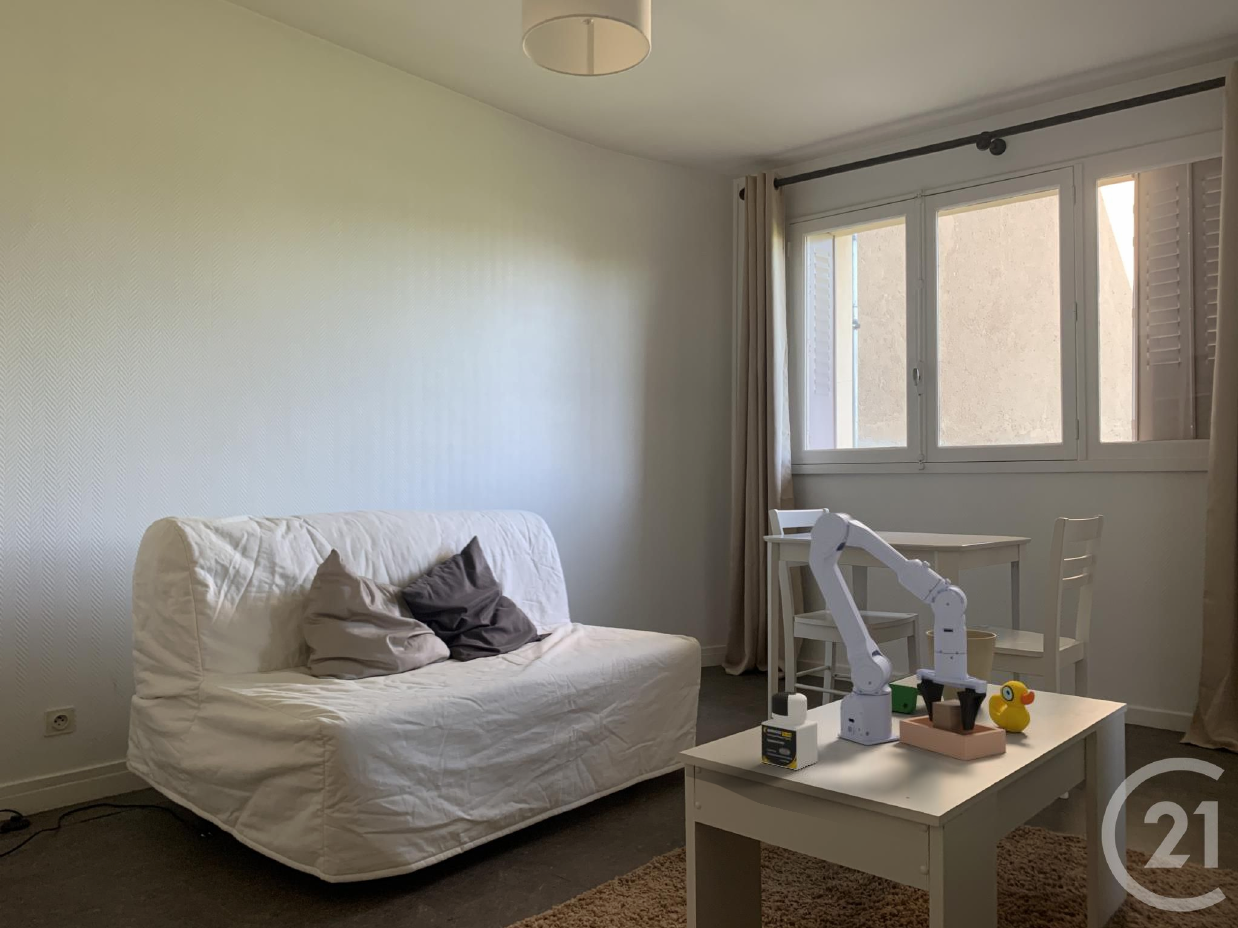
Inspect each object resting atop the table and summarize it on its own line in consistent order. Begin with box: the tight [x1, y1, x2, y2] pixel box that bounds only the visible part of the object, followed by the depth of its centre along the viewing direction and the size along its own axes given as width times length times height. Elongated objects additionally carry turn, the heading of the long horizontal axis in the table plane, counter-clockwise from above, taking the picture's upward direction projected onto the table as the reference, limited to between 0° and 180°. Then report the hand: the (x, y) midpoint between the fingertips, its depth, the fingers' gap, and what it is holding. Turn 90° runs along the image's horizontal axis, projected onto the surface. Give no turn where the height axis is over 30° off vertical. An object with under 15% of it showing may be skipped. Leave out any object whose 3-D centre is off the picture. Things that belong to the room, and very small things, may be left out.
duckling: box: [988, 680, 1036, 733], centre depth 182 cm, size 11×5×10 cm, turn 19°
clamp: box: [887, 682, 922, 714], centre depth 202 cm, size 12×6×9 cm, turn 38°
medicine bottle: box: [761, 691, 819, 771], centre depth 160 cm, size 7×7×12 cm
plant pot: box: [925, 629, 997, 701], centre depth 206 cm, size 15×15×16 cm
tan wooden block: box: [933, 699, 973, 736], centre depth 170 cm, size 6×4×7 cm, turn 120°
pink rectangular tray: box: [898, 715, 1007, 761], centre depth 170 cm, size 11×15×4 cm
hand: (951, 725), depth 170 cm, fingers open, 7 cm apart
